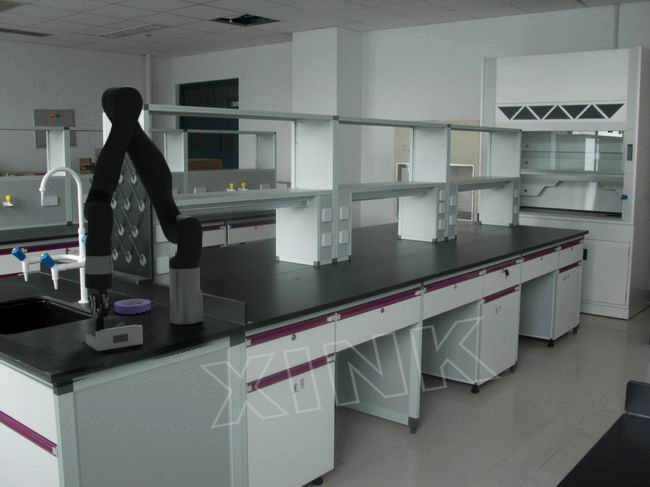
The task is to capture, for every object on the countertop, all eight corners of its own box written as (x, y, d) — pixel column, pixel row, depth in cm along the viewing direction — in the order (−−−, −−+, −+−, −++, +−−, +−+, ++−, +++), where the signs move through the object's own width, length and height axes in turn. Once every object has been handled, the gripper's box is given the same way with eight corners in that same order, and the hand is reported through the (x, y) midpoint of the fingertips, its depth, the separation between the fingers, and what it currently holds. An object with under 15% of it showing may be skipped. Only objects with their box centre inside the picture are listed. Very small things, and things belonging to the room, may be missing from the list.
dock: (129, 336, 192) (129, 318, 192) (143, 343, 185) (142, 325, 184) (85, 343, 185) (85, 324, 184) (97, 351, 177) (97, 331, 177)
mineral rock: (94, 346, 186) (121, 341, 185) (90, 331, 186) (118, 326, 185) (110, 335, 197) (136, 331, 196) (106, 321, 196) (132, 316, 195)
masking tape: (134, 318, 216) (133, 307, 216) (106, 315, 222) (106, 303, 221) (158, 312, 227) (158, 300, 226) (131, 308, 232) (131, 297, 232)
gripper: (120, 273, 187) (120, 334, 189) (103, 267, 197) (104, 325, 199) (93, 275, 182) (94, 338, 184) (77, 269, 193) (78, 328, 194)
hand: (99, 331), depth 192 cm, fingers closed
